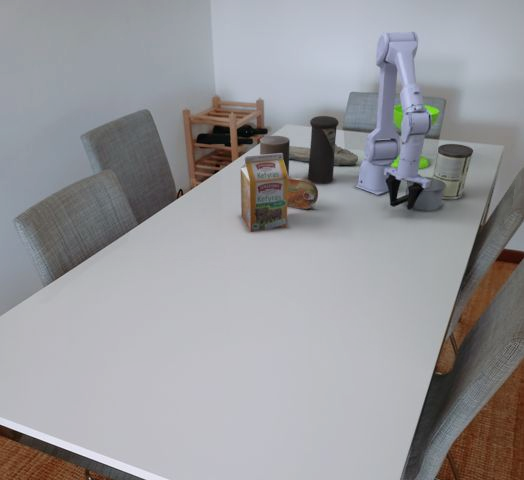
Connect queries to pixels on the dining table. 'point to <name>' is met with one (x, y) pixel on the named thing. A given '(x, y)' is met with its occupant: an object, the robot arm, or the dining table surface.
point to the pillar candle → (276, 147)
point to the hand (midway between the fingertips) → (401, 205)
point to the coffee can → (452, 168)
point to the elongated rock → (339, 157)
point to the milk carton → (264, 192)
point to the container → (322, 149)
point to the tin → (301, 193)
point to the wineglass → (397, 119)
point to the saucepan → (424, 196)
